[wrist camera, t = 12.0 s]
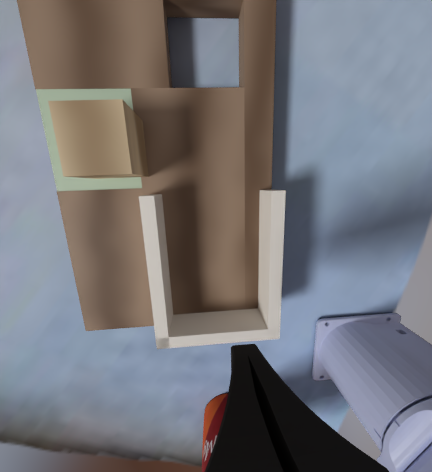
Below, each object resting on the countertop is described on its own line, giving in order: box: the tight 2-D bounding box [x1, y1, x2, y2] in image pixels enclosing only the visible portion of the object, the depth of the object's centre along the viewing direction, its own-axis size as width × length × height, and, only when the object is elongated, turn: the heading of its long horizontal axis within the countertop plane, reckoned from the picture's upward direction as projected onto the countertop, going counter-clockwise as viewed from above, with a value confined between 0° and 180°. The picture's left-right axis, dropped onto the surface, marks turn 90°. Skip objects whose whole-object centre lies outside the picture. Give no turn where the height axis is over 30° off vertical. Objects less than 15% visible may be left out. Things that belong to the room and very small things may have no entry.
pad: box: [36, 89, 142, 191], centre depth 17 cm, size 6×7×2 cm
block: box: [48, 99, 149, 179], centre depth 14 cm, size 4×4×4 cm
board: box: [17, 0, 276, 331], centre depth 18 cm, size 17×26×2 cm, turn 2°
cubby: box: [139, 190, 286, 349], centre depth 17 cm, size 10×12×3 cm
